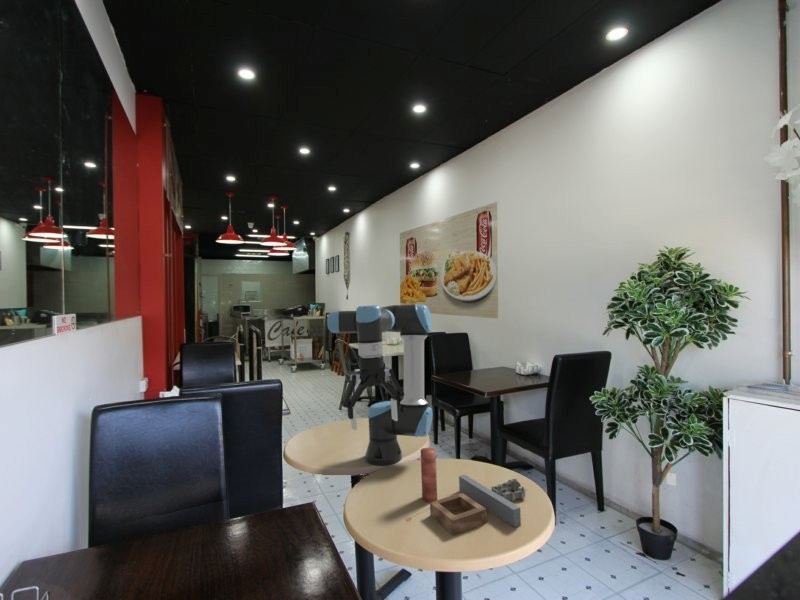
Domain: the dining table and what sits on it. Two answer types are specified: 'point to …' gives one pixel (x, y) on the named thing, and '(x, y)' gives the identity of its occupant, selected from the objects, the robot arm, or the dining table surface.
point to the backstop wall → (490, 500)
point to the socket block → (460, 522)
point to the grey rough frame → (509, 490)
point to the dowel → (428, 474)
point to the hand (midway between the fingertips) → (375, 424)
